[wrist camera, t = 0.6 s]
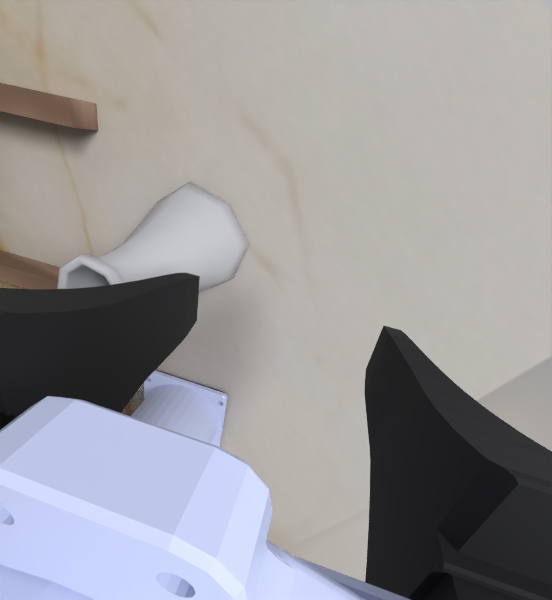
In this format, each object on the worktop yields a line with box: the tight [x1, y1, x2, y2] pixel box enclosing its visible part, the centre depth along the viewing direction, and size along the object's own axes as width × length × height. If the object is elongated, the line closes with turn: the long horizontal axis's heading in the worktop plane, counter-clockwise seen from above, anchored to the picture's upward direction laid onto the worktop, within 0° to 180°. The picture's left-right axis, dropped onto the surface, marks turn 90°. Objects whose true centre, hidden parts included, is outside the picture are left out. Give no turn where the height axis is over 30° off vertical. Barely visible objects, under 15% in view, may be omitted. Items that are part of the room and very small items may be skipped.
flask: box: [57, 182, 249, 291], centre depth 17 cm, size 7×7×10 cm
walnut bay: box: [0, 83, 98, 289], centre depth 22 cm, size 16×12×2 cm
